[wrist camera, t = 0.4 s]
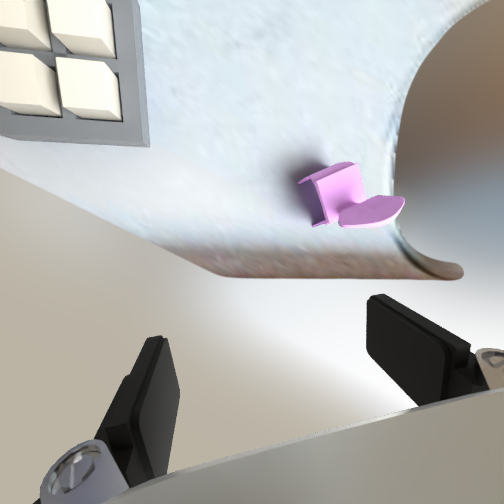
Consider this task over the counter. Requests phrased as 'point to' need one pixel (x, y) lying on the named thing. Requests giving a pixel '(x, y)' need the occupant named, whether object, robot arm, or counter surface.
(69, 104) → the button
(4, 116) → the board
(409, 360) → the robot arm
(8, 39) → the button
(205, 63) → the counter surface
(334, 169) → the toy chair
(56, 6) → the button
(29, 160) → the counter surface
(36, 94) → the button
